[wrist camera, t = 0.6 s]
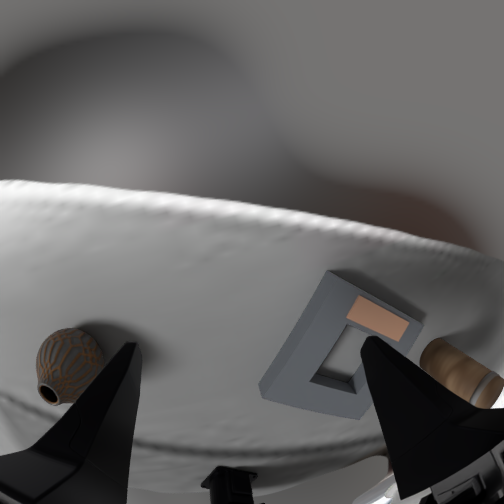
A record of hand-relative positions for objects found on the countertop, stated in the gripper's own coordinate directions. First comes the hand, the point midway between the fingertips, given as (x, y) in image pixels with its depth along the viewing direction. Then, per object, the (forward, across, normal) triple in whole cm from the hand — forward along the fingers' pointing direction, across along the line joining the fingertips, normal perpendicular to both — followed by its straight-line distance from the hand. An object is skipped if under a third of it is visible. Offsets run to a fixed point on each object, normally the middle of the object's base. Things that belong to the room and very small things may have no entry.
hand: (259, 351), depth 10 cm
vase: (+11, +16, +14) cm, 24 cm away
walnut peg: (+10, -28, +17) cm, 35 cm away
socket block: (+11, -12, +14) cm, 22 cm away
